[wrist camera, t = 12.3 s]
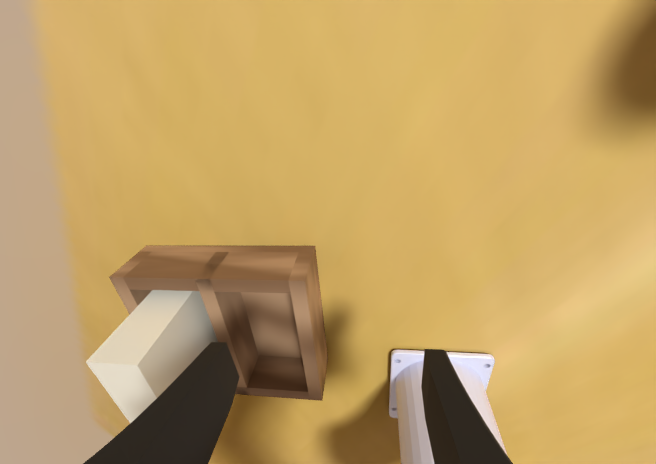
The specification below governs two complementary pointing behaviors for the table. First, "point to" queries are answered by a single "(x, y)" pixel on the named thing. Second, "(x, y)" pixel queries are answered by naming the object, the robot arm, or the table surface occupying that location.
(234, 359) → the rack
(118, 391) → the white square block
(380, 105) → the table surface
